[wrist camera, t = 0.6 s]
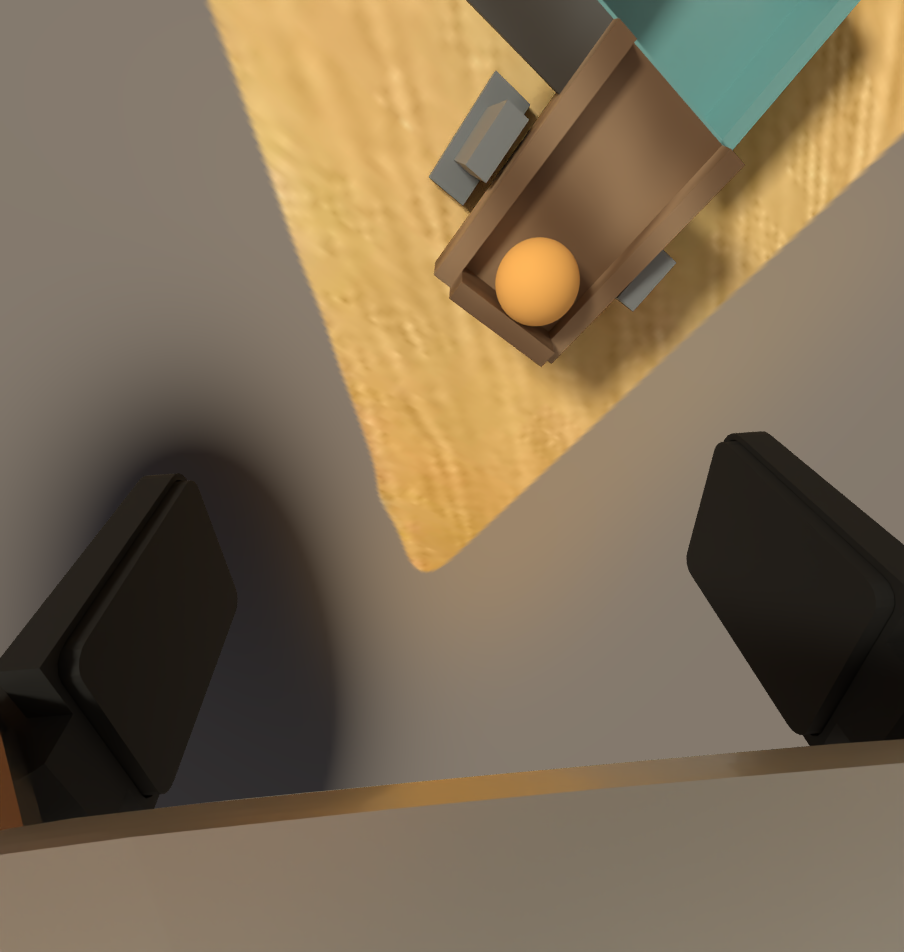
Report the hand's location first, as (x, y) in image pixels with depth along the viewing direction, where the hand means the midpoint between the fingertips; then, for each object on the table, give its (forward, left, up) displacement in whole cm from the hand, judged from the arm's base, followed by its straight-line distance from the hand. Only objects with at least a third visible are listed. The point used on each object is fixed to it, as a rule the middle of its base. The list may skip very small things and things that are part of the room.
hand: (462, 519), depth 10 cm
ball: (-4, +3, -18) cm, 19 cm away
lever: (-7, -1, -24) cm, 25 cm away
